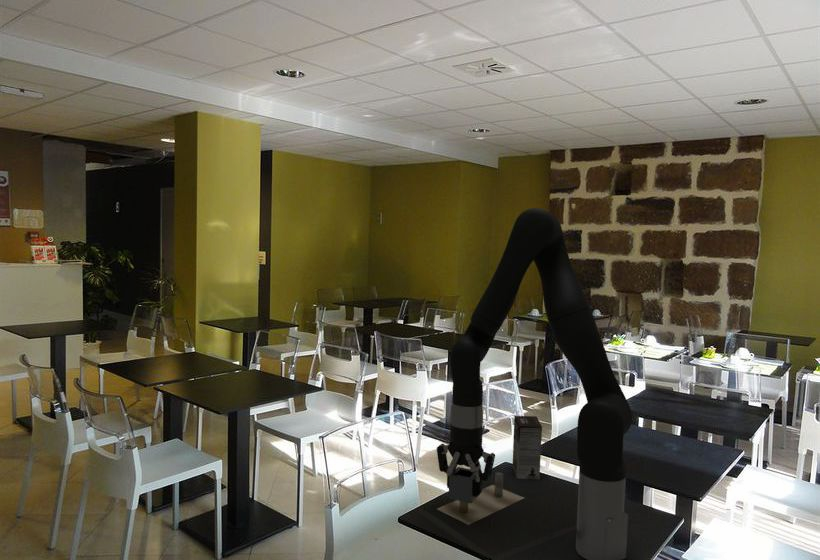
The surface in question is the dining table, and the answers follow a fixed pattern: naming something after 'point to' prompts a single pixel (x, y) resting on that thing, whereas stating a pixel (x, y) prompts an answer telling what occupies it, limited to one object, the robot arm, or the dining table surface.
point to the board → (482, 503)
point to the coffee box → (527, 447)
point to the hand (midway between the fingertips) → (464, 492)
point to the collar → (462, 485)
